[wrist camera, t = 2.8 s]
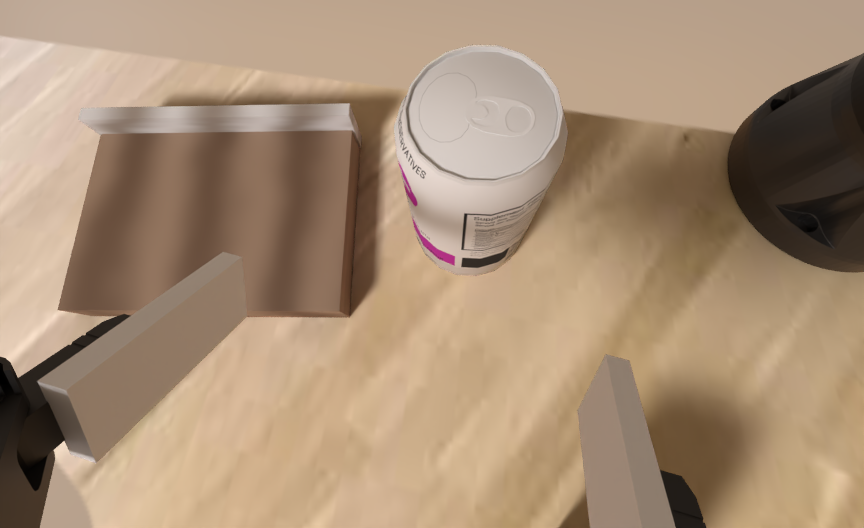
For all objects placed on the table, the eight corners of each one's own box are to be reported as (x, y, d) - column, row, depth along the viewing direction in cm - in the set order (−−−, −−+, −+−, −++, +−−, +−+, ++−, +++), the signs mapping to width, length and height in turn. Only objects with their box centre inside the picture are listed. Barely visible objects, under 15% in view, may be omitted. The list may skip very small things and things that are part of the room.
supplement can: (405, 265, 32) (368, 175, 18) (431, 170, 34) (416, 20, 20) (509, 289, 31) (559, 215, 17) (529, 190, 33) (589, 49, 19)
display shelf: (363, 136, 35) (349, 99, 31) (352, 317, 31) (334, 306, 27) (130, 140, 36) (82, 104, 32) (90, 316, 32) (28, 305, 28)
